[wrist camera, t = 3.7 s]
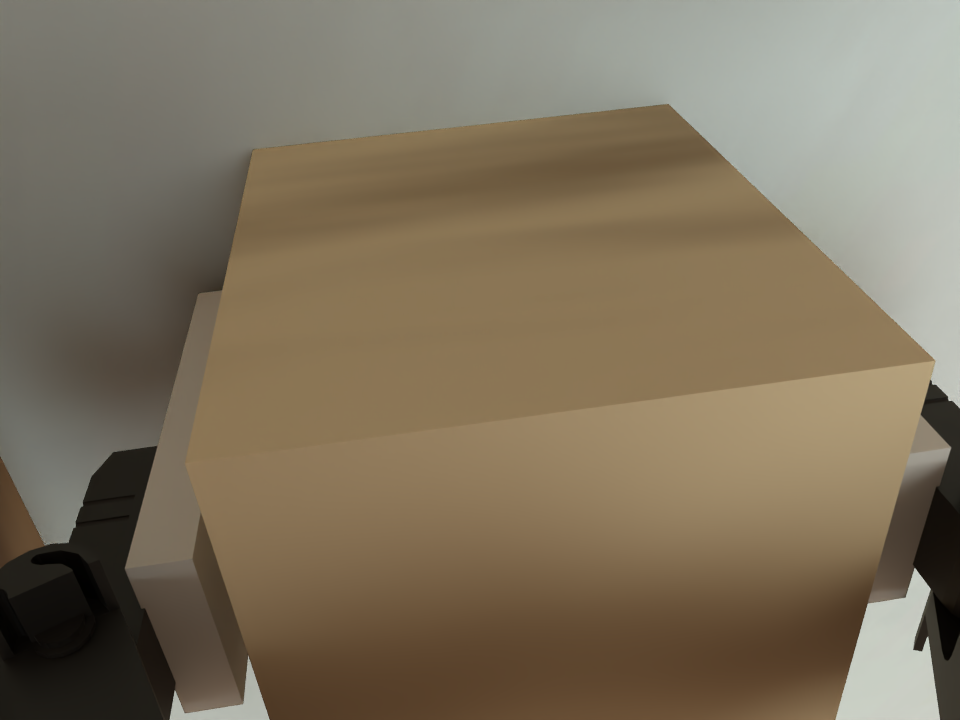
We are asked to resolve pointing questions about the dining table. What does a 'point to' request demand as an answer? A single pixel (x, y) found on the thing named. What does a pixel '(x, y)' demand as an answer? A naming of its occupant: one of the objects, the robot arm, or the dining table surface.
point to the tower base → (14, 522)
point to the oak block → (544, 431)
